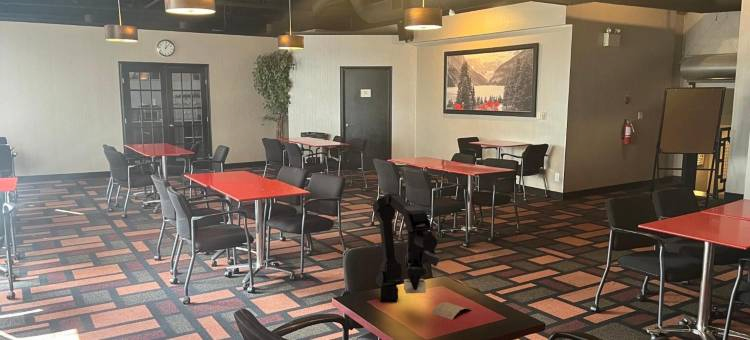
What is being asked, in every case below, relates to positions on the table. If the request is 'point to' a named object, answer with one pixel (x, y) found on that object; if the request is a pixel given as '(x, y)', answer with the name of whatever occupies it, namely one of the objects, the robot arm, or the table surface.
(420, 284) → the taped cardboard box
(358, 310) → the table surface
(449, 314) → the clay tablet
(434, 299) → the table surface
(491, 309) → the table surface
